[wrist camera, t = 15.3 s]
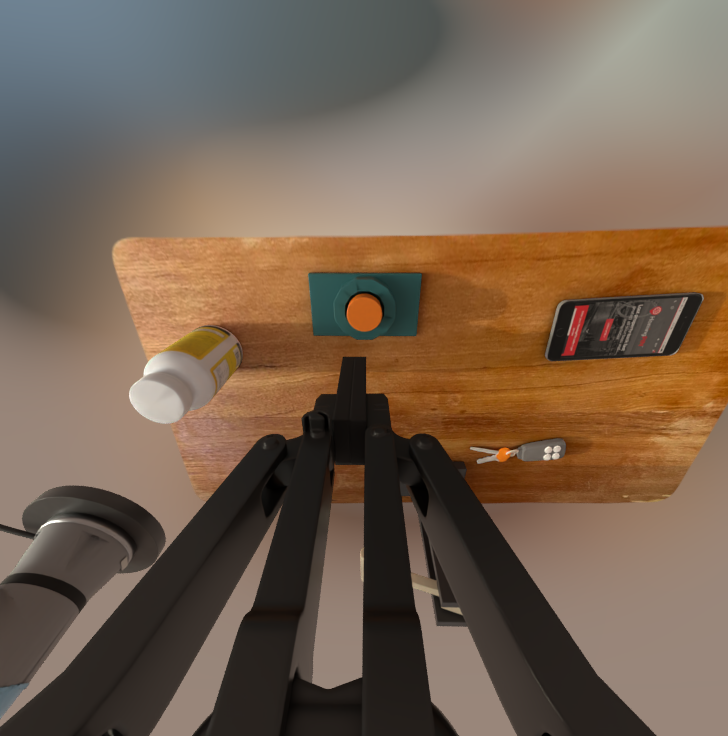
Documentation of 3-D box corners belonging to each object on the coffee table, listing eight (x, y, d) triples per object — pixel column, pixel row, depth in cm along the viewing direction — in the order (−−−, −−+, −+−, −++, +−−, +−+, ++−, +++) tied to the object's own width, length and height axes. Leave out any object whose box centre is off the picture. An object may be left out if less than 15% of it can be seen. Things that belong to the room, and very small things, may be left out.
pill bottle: (181, 328, 34) (100, 376, 24) (232, 318, 33) (171, 363, 23) (206, 375, 37) (143, 436, 27) (253, 367, 36) (207, 426, 26)
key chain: (562, 434, 40) (568, 441, 39) (558, 453, 42) (564, 461, 41) (469, 445, 42) (472, 453, 40) (469, 464, 43) (472, 471, 42)
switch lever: (363, 564, 35) (357, 585, 33) (363, 540, 33) (357, 561, 31) (465, 598, 32) (466, 623, 30) (473, 574, 30) (474, 600, 28)
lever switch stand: (395, 487, 46) (409, 627, 30) (397, 460, 43) (414, 599, 28) (457, 488, 46) (504, 629, 30) (463, 461, 43) (518, 601, 27)
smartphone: (561, 301, 31) (706, 293, 30) (557, 299, 31) (700, 291, 31) (545, 361, 34) (676, 355, 34) (542, 359, 35) (670, 352, 34)
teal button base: (314, 333, 34) (310, 341, 32) (309, 272, 31) (304, 276, 28) (415, 334, 34) (418, 342, 32) (420, 272, 31) (425, 276, 28)
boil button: (348, 326, 31) (347, 331, 30) (347, 293, 30) (346, 297, 28) (381, 326, 31) (381, 331, 30) (382, 293, 30) (382, 297, 28)
